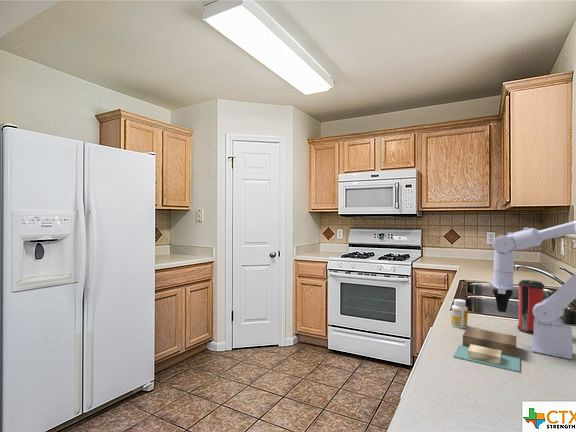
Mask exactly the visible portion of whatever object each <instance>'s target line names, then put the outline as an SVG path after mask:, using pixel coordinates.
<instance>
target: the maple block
mask: <svg viewBox="0 0 576 432" xmlns="http://www.w3.org/2000/svg"><path fill="white" fill-rule="evenodd" d="M501 352H502V351H501V350H496V349H491V348H486V347H482V346H477V345H472V344H470V346H469V349H468V357H469V358H473V359H477V360H482V361H486V362H490V363H495V364H499V365H500V362H501Z"/></svg>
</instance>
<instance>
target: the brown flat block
mask: <svg viewBox="0 0 576 432" xmlns="http://www.w3.org/2000/svg"><path fill="white" fill-rule="evenodd" d="M517 339H518V338H517V335H511V334H508V333H502V332H496V331H490V330H485V329H479V328H473V327H468V326H467V327H466V329H465V331H464V332H463V334H462V346H467V347H469V346H470V344H472V345H477V346H482V347H486V348H491V349H496V350H501V351H502V352H501V354H505V355H510V356H514V357H517Z"/></svg>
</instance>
